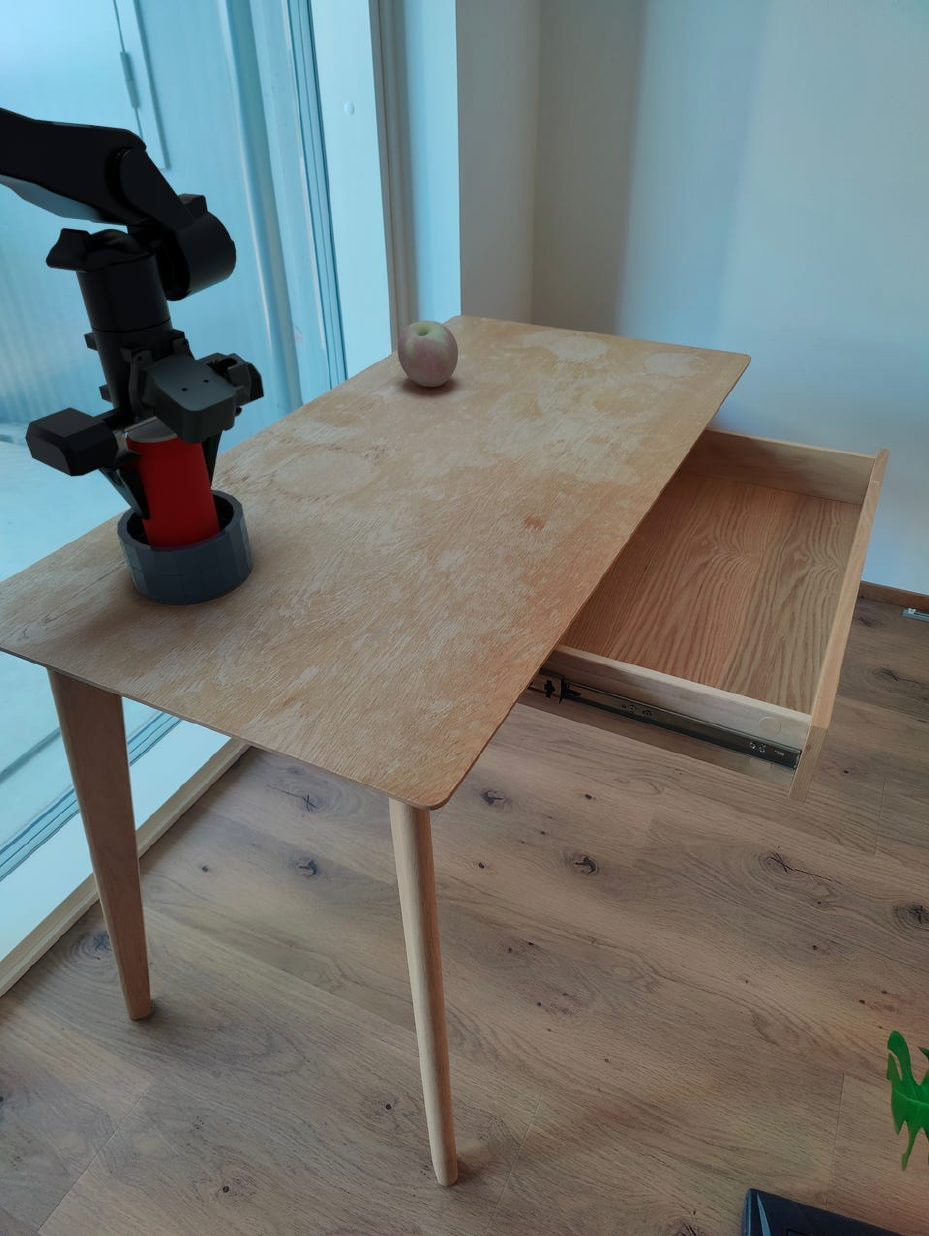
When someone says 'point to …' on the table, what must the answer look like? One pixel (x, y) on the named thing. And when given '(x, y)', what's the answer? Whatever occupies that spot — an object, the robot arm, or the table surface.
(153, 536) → the beverage can
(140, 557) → the pot
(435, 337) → the apple
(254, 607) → the table surface
